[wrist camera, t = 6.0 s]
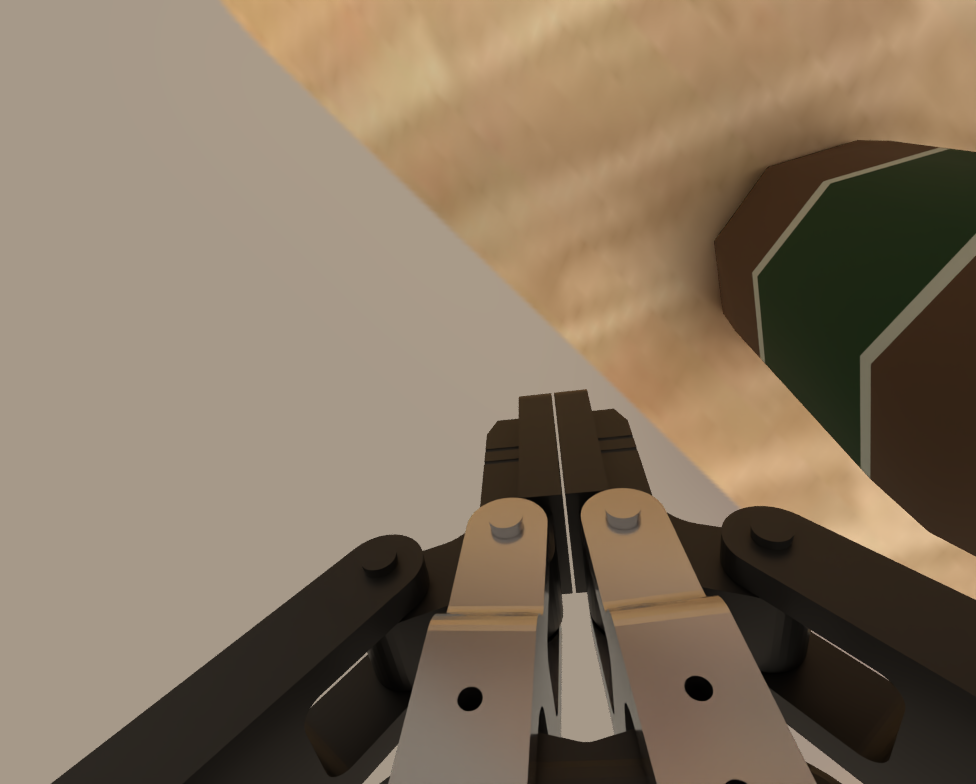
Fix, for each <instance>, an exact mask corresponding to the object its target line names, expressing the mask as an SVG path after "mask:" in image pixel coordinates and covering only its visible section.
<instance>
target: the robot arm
mask: <svg viewBox="0 0 976 784" xmlns="http://www.w3.org/2000/svg"><path fill="white" fill-rule="evenodd" d="M554 397H555V406H556V415H557V424H558V433H559V443H560V452H561V461H562V470H563V479H564V488H565V496H566V506H567V515H568V524H569V533H570V542H571V550H572V559H573V569H574V578H575V586H576V593H582V592H587V594H588V602H589V609H590V619H591V629H592V635H593V640H594V644H595V649H596V653H597V658H598V662H599V667H600V671H601V676H602V680H603V684H604V689H605V693H606V698H607V702H608V707H609V712H610V716H611V720H612V725H613V730H614V735H613V736H610V737H606V738H603V739H600V740H597V741H593V742H578V741H574V740H570V739H566V738H561V690H562V686H561V685H562V684H561V683H562V628H561V622H562V618H563V605H562V594H570V593H572V583H571V574H570V564H569V554H568V545H567V537H566V536H567V535H566V525H565V517H564V507H563V497H562V487H561V478H560V469H559V460H558V451H557V441H556V432H555V424H554V416H553V405H552V396H551V393H549V394H540V395H531V396H521V397H519V419H511V420H501V421H497V422H496V424H495V425H494V426H493V428H492V429H491V430H490V431H489V433H488V434H487V441H486V453H485V465H484V472H483V483H482V494H481V504H480V508H479V509H478V510H477V511H475V512H474V514H473V515H472V516H471V518H470V519H469V521H468V524H467V527H466V531H465V533H464V534H463V535H462V536H460V537H459V538H457V539H455V540H453V541H451V542H448V543H446V544H443V545H440V546H437V547H434V548H431V549H428V550H425V551H422V549H421V547H420V546H419V544H418V543H417V542H416V541H415V540H413V539H412V538H409V537H407V536H403V535H385V536H380V537H377V538H374V539H371V540H369V541H367V542H365V543H363V544H361V545H360V546H358V547H357V548H355V549H354V550H353V551H351V552H350V553H349V554H348V555H346V556H345V557H344V558H342V559H341V560H340V561H339V562H337V563H336V564H335V565H333V566H332V567H331V568H329V569H328V570H327V571H326V572H324V573H323V574H322V575H320V576H319V577H318V578H317V579H315V580H314V581H313V582H311V583H310V584H309V585H307V586H306V587H305V588H304V589H302V590H301V591H300V592H298V593H297V594H296V595H295V596H293V597H292V598H291V599H289V600H288V601H287V602H286V603H284V604H283V605H282V606H280V607H279V608H278V609H277V610H275V611H274V612H272V613H271V614H270V615H269V616H267V617H266V618H265V619H263V620H262V621H261V622H260V623H258V624H257V625H256V626H255V627H253V628H252V629H251V630H249V631H248V632H247V633H245V634H244V635H243V636H241V637H240V638H239V639H238V640H236V641H235V642H234V643H232V644H231V645H230V646H228V647H227V648H226V649H225V650H223V651H222V652H221V653H219V654H218V655H217V656H216V657H214V658H213V659H212V660H210V661H209V662H208V663H207V664H205V665H204V666H203V667H201V668H200V669H199V670H197V671H196V672H195V673H194V674H192V675H191V676H190V677H188V678H187V679H186V680H185V681H183V682H182V683H181V684H179V685H178V686H177V687H175V688H174V689H173V690H172V691H170V692H169V693H168V694H166V695H165V696H164V697H162V698H161V699H160V700H159V701H157V702H156V703H155V704H153V705H152V706H151V707H150V708H148V709H147V710H146V711H144V712H143V713H142V714H140V715H139V716H138V717H137V718H135V719H134V720H133V721H131V722H130V723H129V724H128V725H126V726H125V727H124V728H122V729H121V730H120V731H119V732H117V733H116V734H115V735H113V736H112V737H111V738H109V739H108V740H107V741H106V742H104V743H103V744H102V745H100V746H99V747H98V748H96V749H95V750H94V751H93V752H91V753H90V754H89V755H87V756H86V757H85V758H84V759H82V760H81V761H80V762H78V763H77V764H76V765H74V766H73V767H72V768H71V769H69V770H68V771H67V772H66V773H64V774H63V775H61V776H60V777H59V778H58V779H56V780H55V781H54V782H53V783H52V784H362V783H363V782H364V781H365V780H366V779H367V778H368V777H369V776H370V774H371V773H372V772H373V771H374V770H375V769H376V768H377V767H378V765H379V764H380V763H381V762H382V761H383V760H384V759H385V758H386V757H387V756H388V754H389V753H390V752H391V751H392V750H393V749H394V748H395V747H396V746H397V744H398V743H399V744H398V748H397V751H396V755H395V759H394V763H393V767H392V771H391V775H390V776H389V777H388V778H386V779H385V780H384V781H383V782H381V783H380V784H841V783H840V782H839V781H837V780H836V779H834V778H833V777H831V776H830V775H828V774H827V773H825V772H823V771H821V770H819V769H818V768H816V767H814V766H812V765H811V764H809V763H807V762H805V760H804V758H803V756H802V754H801V752H800V750H799V748H798V746H797V744H796V742H795V740H794V738H793V736H792V734H791V732H790V730H789V728H788V726H787V725H789V726H790V727H791V728H793V729H794V730H795V731H796V732H798V733H799V734H800V735H802V736H803V737H804V738H805V739H807V740H808V741H809V742H811V743H812V744H813V745H815V746H816V747H817V748H818V749H820V750H821V751H822V752H823V753H825V754H826V755H827V756H829V757H830V758H831V759H832V760H834V761H835V762H836V763H838V764H839V765H840V766H841V767H843V768H844V769H845V770H847V771H848V772H849V773H851V774H852V775H853V776H854V777H856V778H857V779H858V780H859V781H861V782H862V783H863V784H976V600H975V599H972V598H970V597H968V596H966V595H964V594H962V593H960V592H958V591H956V590H954V589H952V588H949V587H947V586H945V585H943V584H941V583H939V582H937V581H935V580H933V579H931V578H929V577H927V576H924V575H922V574H920V573H918V572H916V571H914V570H912V569H910V568H908V567H906V566H904V565H901V564H899V563H897V562H895V561H893V560H891V559H889V558H887V557H885V556H883V555H881V554H878V553H876V552H874V551H872V550H870V549H868V548H866V547H864V546H862V545H860V544H858V543H856V542H853V541H851V540H849V539H847V538H845V537H843V536H841V535H839V534H837V533H835V532H833V531H830V530H828V529H826V528H824V527H822V526H820V525H818V524H816V523H814V522H812V521H810V520H808V519H805V518H803V517H801V516H799V515H797V514H795V513H792V512H790V511H787V510H783V509H780V508H775V507H767V506H754V507H747V508H743V509H740V510H737V511H735V512H733V513H732V514H730V515H729V516H728V517H727V518H726V519H725V521H724V522H723V525H722V527H716V526H709V525H702V524H696V523H691V522H687V521H684V520H681V519H679V518H676V517H674V516H672V515H670V514H669V513H667V512H666V510H665V508H664V507H663V505H662V504H661V503H660V502H659V501H658V500H657V499H656V498H655V497H653V496H652V494H651V490H650V487H649V484H648V481H647V478H646V475H645V472H644V469H643V466H642V463H641V460H640V457H639V454H638V451H637V449H636V445H635V441H634V439H633V436H632V432H631V429H630V426H629V423H628V420H627V419H625V418H624V417H623V416H622V415H621V414H619V413H618V412H617V411H616V410H614V409H607V410H597V411H592V410H591V406H590V401H589V397H588V392H587V390H586V389H585V390H576V391H567V392H558V393H554ZM811 630H812V631H814V632H815V633H817V634H819V635H820V636H822V637H823V638H825V639H827V640H828V641H830V642H831V643H833V644H835V645H836V646H838V647H839V648H841V649H843V650H844V651H846V652H847V653H849V654H850V655H852V656H854V657H855V658H857V659H858V660H860V661H862V662H863V663H865V664H867V665H868V666H870V667H871V668H873V669H874V670H876V671H878V672H879V673H880V674H882V675H883V676H885V677H886V678H887V679H888V680H889V681H888V680H887V679H885V678H884V677H882V676H880V675H879V674H877V673H876V672H874V671H872V670H871V669H869V668H867V667H866V666H864V665H863V664H861V663H860V662H858V661H856V660H855V659H853V658H852V657H850V656H849V655H847V654H845V653H844V652H842V651H841V650H839V649H837V648H836V647H834V646H833V645H831V644H829V643H828V642H826V641H825V640H823V639H821V638H820V637H818V636H817V635H815V634H813V633H812V632H811ZM366 652H367V653H368V655H367V656H366V657H364V658H363V659H362V660H361V661H360V662H359V663H358V664H357V665H356V666H355V667H354V668H353V669H352V670H351V671H350V672H348V674H346V675H345V676H344V677H343V678H342V679H341V680H340V681H339V682H338V683H337V684H336V685H335V686H334V687H333V688H331V689H330V690H329V691H328V692H327V693H326V694H325V695H324V696H323V697H322V698H321V699H320V700H319V701H317V703H315V704H314V705H313V706H312V704H313V703H314V702H315V701H316V699H317V698H318V697H319V696H320V695H321V694H322V693H323V692H324V691H325V690H327V689H328V688H329V687H330V686H331V685H332V684H333V683H334V682H335V681H336V680H337V679H338V678H339V677H340V676H342V675H343V674H344V673H345V672H346V671H347V670H348V669H349V668H350V667H351V666H352V665H353V664H354V663H356V661H358V660H359V659H360V658H361V657H362V656H363V655H364V654H365V653H366ZM311 706H312V707H311ZM310 707H311V708H310Z"/></svg>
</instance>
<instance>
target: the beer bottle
mask: <svg viewBox="0 0 976 784" xmlns="http://www.w3.org/2000/svg"><path fill="white" fill-rule="evenodd" d="M714 244H715V252H716V260H717V268H718V276H719V284H720V292H721V300H722V308H723V314H724V315H725V316H726V318H727V319H728V321H729V322H730V324H731V325H732V326H733V328H734V329H735V331H736V332H737V333H738V334H739V335H740V336H741V337H742V339H743V340H744V341H745V342H746V343H747V344H748V345H749V346H750V347H751V348H752V350H753V351H754V352H755V353H756V354H757V355H758V356H759V357H760V358H761V359H762V361H763V362H764V363H765V364H766V365H767V366H768V367H769V368H770V369H771V370H772V372H773V373H774V374H775V375H776V376H777V377H778V378H779V379H780V380H781V381H782V382H783V384H784V385H785V386H786V387H787V388H788V389H789V390H790V391H791V392H792V393H793V395H794V396H795V397H796V398H797V399H798V400H799V401H800V402H801V403H802V404H803V406H804V407H805V408H806V409H807V410H808V411H809V412H810V413H811V414H812V415H813V417H814V418H815V419H816V420H817V421H818V422H819V423H820V424H821V425H822V426H823V428H824V429H825V430H826V431H827V432H828V433H829V434H830V435H831V436H832V437H833V439H834V440H835V441H836V442H837V443H838V444H839V445H840V446H841V447H842V448H843V450H844V451H845V452H846V453H847V454H848V455H849V456H850V457H851V458H852V459H853V461H854V462H855V463H856V464H857V465H858V466H859V467H860V468H861V469H862V470H863V471H864V473H865V474H866V475H867V476H868V477H869V478H870V479H871V480H872V481H873V482H874V483H875V484H876V485H878V486H879V487H880V488H881V489H882V490H883V491H884V492H885V493H886V494H887V495H889V496H890V497H891V498H892V499H893V500H894V501H895V502H896V503H897V504H899V505H900V506H901V507H902V508H903V509H904V510H905V511H906V512H907V513H908V514H910V515H911V516H912V517H913V518H914V519H915V520H916V521H917V522H918V523H920V524H921V525H922V526H923V527H924V528H925V529H926V530H927V531H928V532H930V533H932V534H934V535H936V536H938V537H940V538H942V539H943V540H945V541H947V542H949V543H951V544H953V545H955V546H957V547H959V548H961V549H963V550H965V551H966V552H968V553H970V554H972V555H974V556H976V152H970V151H963V150H955V149H947V148H940V147H932V146H924V145H917V144H909V143H901V142H894V141H866V140H857V141H854V142H850V143H847V144H844V145H840V146H837V147H834V148H830V149H827V150H824V151H820V152H817V153H814V154H810V155H807V156H804V157H800V158H797V159H794V160H790V161H787V162H784V163H780V164H777V165H774V166H770V167H768V168H767V169H766V171H765V172H764V173H763V175H762V176H761V178H760V179H759V180H758V182H757V183H756V184H755V186H754V187H753V189H752V190H751V191H750V193H749V194H748V195H747V197H746V198H745V200H744V201H743V202H742V204H741V205H740V207H739V208H738V209H737V211H736V212H735V213H734V215H733V216H732V218H731V219H730V220H729V222H728V223H727V225H726V226H725V227H724V229H723V230H722V231H721V233H720V234H719V236H718V237H717V238H716V240H715V241H714Z"/></svg>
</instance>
